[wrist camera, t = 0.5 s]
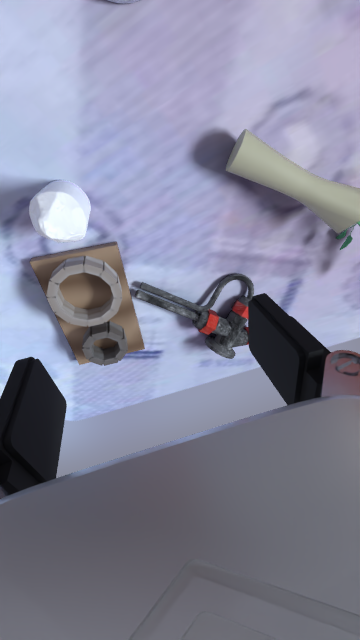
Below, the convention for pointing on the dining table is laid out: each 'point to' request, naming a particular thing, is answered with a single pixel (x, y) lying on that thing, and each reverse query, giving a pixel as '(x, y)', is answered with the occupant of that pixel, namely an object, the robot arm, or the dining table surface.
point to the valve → (210, 316)
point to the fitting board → (91, 302)
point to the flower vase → (296, 183)
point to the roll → (60, 212)
